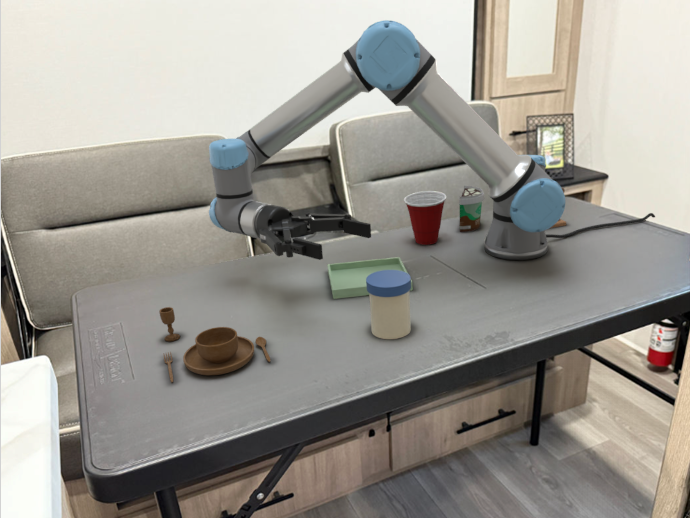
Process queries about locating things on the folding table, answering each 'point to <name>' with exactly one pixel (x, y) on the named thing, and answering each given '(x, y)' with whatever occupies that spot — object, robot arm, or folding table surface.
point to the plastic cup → (425, 215)
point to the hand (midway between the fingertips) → (346, 241)
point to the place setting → (213, 349)
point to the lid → (388, 283)
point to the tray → (358, 275)
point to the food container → (470, 208)
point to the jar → (390, 316)
